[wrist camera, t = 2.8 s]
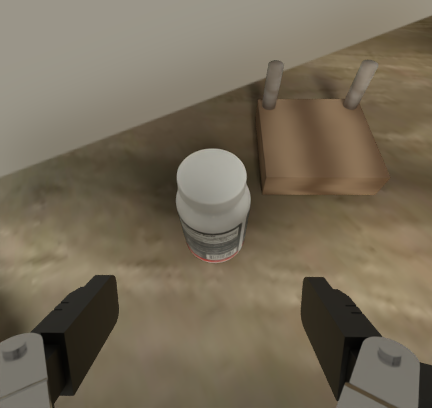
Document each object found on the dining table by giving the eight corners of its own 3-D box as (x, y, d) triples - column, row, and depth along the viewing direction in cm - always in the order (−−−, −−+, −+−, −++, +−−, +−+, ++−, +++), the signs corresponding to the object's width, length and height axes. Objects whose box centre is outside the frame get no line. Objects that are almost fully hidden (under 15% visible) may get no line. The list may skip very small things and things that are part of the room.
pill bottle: (205, 202, 28) (199, 131, 20) (254, 227, 26) (270, 160, 18) (174, 246, 25) (151, 185, 17) (225, 276, 24) (228, 225, 15)
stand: (347, 118, 34) (378, 57, 28) (375, 195, 28) (424, 139, 21) (255, 119, 35) (263, 58, 28) (262, 194, 28) (275, 139, 22)
